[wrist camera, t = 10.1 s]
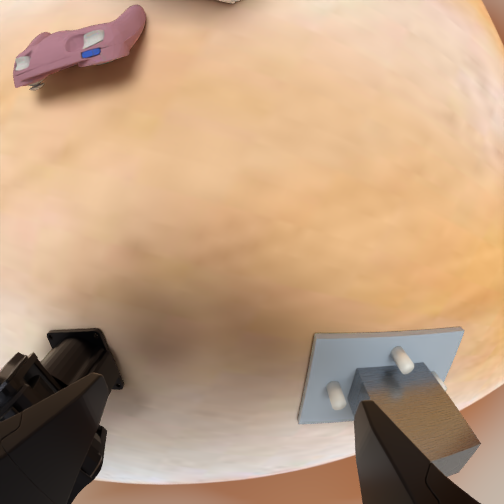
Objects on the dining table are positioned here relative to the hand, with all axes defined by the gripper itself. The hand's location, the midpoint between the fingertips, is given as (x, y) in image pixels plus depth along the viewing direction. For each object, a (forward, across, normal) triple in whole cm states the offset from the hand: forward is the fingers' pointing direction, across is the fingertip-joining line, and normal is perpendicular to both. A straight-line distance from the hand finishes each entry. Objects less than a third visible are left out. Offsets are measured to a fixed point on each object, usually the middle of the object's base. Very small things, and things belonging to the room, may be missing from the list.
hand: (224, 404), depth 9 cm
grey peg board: (+14, -12, +11) cm, 21 cm away
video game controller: (+13, +13, -16) cm, 24 cm away
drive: (+13, -12, +11) cm, 21 cm away
